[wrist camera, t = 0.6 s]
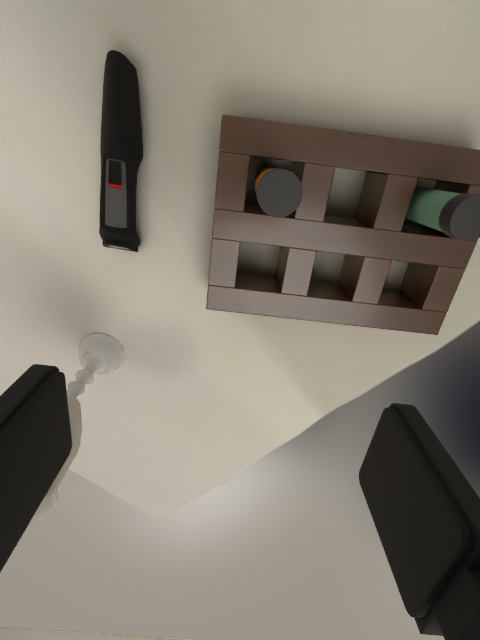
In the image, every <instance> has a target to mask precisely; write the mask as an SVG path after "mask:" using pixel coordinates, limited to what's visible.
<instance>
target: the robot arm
mask: <svg viewBox="0 0 480 640" xmlns="http://www.w3.org/2000/svg"><path fill="white" fill-rule="evenodd" d="M71 449H72V435H71V426H70V417H69V409H68V400H67V391H66V382H65V375H64V373H62V372H59V369H58V368H57V367H56V366H47V365H38V364H35V365H32V366H31V367H30V368H29V369H28V370H27V371H26V372H25V373H24V374H23V375H22V376H21V377H20V378H19V379H17V380H16V381H15V382H14V383H13V384H12V385H11V386H10V387H9V388H8V389H7V390H6V391H5V392H4V393H3V394H2V395H1V396H0V572H1V570H2V569H3V567H4V565H5V564H6V562H7V560H8V558H9V557H10V555H11V553H12V551H13V550H14V548H15V547H16V545H17V543H18V541H19V540H20V538H21V536H22V535H23V533H24V531H25V530H26V528H27V526H28V524H29V523H30V521H31V519H32V518H33V516H34V514H35V513H36V511H37V509H38V508H39V506H40V504H41V502H42V501H43V499H44V497H45V496H46V494H47V492H48V491H49V489H50V487H51V485H52V484H53V482H54V480H55V479H56V477H57V475H58V474H59V472H60V470H61V468H62V467H63V465H64V463H65V462H66V460H67V458H68V457H69V455H70V452H71ZM359 480H360V485H361V488H362V491H363V493H364V496H365V499H366V501H367V504H368V507H369V510H370V512H371V515H372V518H373V520H374V523H375V526H376V529H377V531H378V534H379V537H380V540H381V542H382V545H383V548H384V551H385V553H386V556H387V559H388V562H389V565H390V567H391V570H392V573H393V575H394V578H395V581H396V584H397V586H398V589H399V592H400V595H401V597H402V600H403V603H404V605H405V608H406V610H407V612H408V614H409V615H410V616H411V617H414V618H415V621H416V623H417V626H418V629H419V631H420V634H428V635H441V636H444V638H445V640H480V498H479V496H478V495H477V494H476V492H475V491H474V489H473V488H472V487H471V485H470V484H469V482H468V481H467V479H466V478H465V477H464V475H463V474H462V472H461V471H460V470H459V468H458V467H457V465H456V464H455V462H454V461H453V460H452V458H451V457H450V455H449V454H448V453H447V451H446V450H445V448H444V447H443V445H442V444H441V443H440V441H439V440H438V438H437V437H436V435H435V434H434V433H433V431H432V430H431V428H430V427H429V426H428V424H427V423H426V421H425V420H424V418H423V417H422V416H421V414H420V413H419V411H418V410H417V409H416V408H415V407H414V406H413V405H404V404H396V403H393V404H391V405H390V407H389V408H385V409H384V410H383V413H382V415H381V418H380V420H379V423H378V425H377V428H376V430H375V433H374V436H373V438H372V441H371V443H370V446H369V448H368V451H367V453H366V456H365V459H364V461H363V464H362V466H361V469H360V472H359ZM0 640H194V639H181V638H167V637H153V636H138V635H123V634H107V633H92V632H77V631H61V630H44V629H31V628H15V627H0Z"/></svg>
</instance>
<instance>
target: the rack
mask: <svg viewBox="0 0 480 640" xmlns="http://www.w3.org/2000/svg"><path fill="white" fill-rule="evenodd" d="M219 150H220V152H219V161H218V173H217V185H216V197H215V209H214V220H213V232H212V244H211V256H210V268H209V281H208V293H207V305H206V309H210V310H219V311H228V312H237V313H246V314H255V315H264V316H273V317H282V318H291V319H300V320H309V321H318V322H327V323H336V324H344V325H353V326H362V327H371V328H380V329H389V330H398V331H407V332H416V333H425V334H434V335H437V334H438V332H439V330H440V327H441V325H442V323H443V320H444V318H445V316H446V312H447V311H448V309H449V306H450V304H451V302H452V299H453V297H454V295H455V292H456V290H457V287H458V285H459V283H460V280H461V278H462V276H463V273H464V271H465V269H466V266H467V264H468V262H469V259H470V257H471V255H472V252H473V250H474V248H475V245H476V243H477V240H478V238H477V239H475V240H471V241H462V240H459V239H456V238H453V237H451V236H448V235H446V234H445V233H443V232H441V231H439V230H436V229H433V228H430V227H428V226H425V225H422V227H415V226H407V225H403V223H404V220H405V217H406V214H407V211H408V208H409V205H410V202H411V199H412V195H413V192H414V189H415V186H416V183H417V180H418V178H420V179H427V180H435V181H437V184H436V187H435V190H441V191H447V192H453V193H460V194H463V193H470V194H477V195H480V150H476V149H468V148H461V147H454V146H447V145H439V144H432V143H425V142H418V141H411V140H403V139H396V138H389V137H382V136H374V135H367V134H360V133H353V132H346V131H338V130H331V129H324V128H317V127H310V126H302V125H295V124H288V123H281V122H273V121H266V120H259V119H252V118H245V117H237V116H230V115H222V124H221V136H220V148H219ZM250 156H255V157H262V158H270V159H277V160H285V161H292V162H296V163H295V169H294V174H295V175H296V176H297V177H298V178H299V180H300V182H301V185H302V190H303V194H302V199H301V202H300V204H299V206H298V208H297V209H296V210H295V211H294V212H293V213H291V214H290V215H288V216H285V217H272V216H270V215H268V214H266V213H265V212H264V211H263V210H262V209H261V207H257V206H249V205H245V198H246V189H247V181H248V173H249V164H250ZM335 167H337V168H345V169H352V170H360V171H367V175H366V179H365V183H364V187H363V191H362V194H361V198H360V202H359V206H358V210H357V214H356V217H355V219H352V218H344V217H336V216H328V215H325V212H326V207H327V203H328V198H329V194H330V189H331V184H332V180H333V175H334V171H335ZM240 241H241V242H249V243H257V244H266V245H274V246H281V250H280V256H279V261H278V267H277V273H276V276H269V275H261V274H252V273H244V272H237V265H238V256H239V248H240ZM317 251H323V252H331V253H340V254H346V256H345V259H344V263H343V267H342V271H341V275H340V279H339V284H337V283H329V282H320V281H312V280H310V279H311V275H312V270H313V266H314V261H315V257H316V252H317ZM392 260H397V261H406V262H409V265H408V268H407V271H406V274H405V276H404V279H403V282H402V285H401V288H400V291H397V290H389V289H383V286H384V283H385V280H386V277H387V274H388V271H389V267H390V264H391V261H392Z"/></svg>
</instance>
